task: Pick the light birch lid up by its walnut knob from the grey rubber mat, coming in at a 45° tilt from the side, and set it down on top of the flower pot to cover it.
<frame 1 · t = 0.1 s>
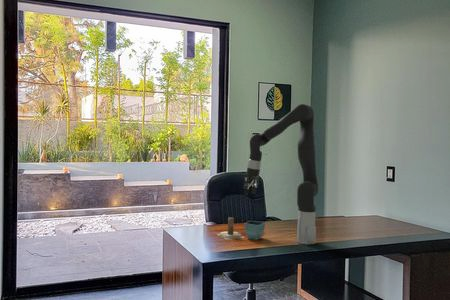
hand: (249, 194, 228), 22 cm above the table, tool pointing down, fingers open, 8 cm apart
flower pot: (254, 239, 212), on the table
lid: (230, 235, 215), resting on mat
mat: (230, 236, 215), on the table
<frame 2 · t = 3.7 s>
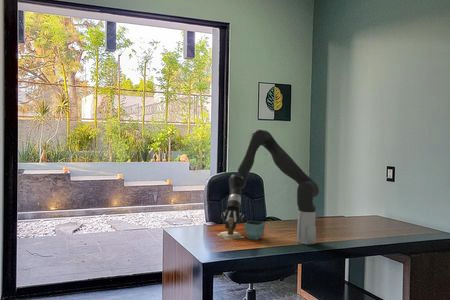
hand: (230, 228, 213), 5 cm above the table, tool tilted 45°, fingers closed on lid, 3 cm apart
lid: (230, 235, 215), resting on mat, touching gripper
everything else where it was.
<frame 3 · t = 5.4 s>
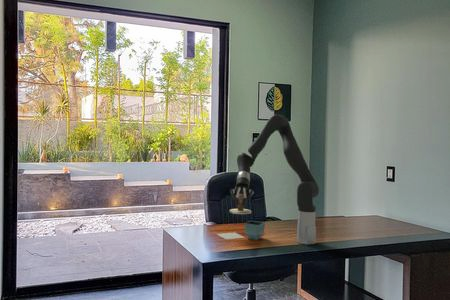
hand: (240, 204, 211), 19 cm above the table, tool tilted 45°, fingers closed on lid, 3 cm apart
lid: (240, 212, 213), point 14 cm above the table, touching gripper
everything else where it was.
when the fingers open (15 cm above the table, at t = 7.5 s): lid drops 2 cm, resting on flower pot.
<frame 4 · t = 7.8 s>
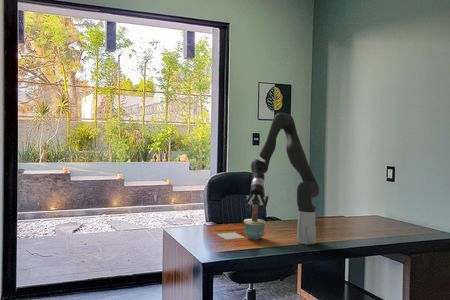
hand: (254, 211, 210), 15 cm above the table, tool tilted 45°, fingers open, 6 cm apart
flower pot: (253, 239, 212), on the table, touching lid
lid: (254, 222, 212), point 9 cm above the table, touching flower pot
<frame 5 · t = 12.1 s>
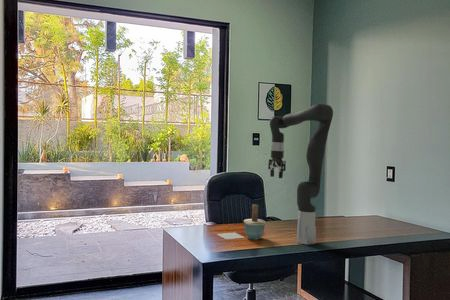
hand: (276, 177, 227), 33 cm above the table, tool pointing down, fingers open, 8 cm apart
nothing on the table moved.
at the end: lid inside the target area on the flower pot (0.1 cm from its centre), point 9.2 cm above the flower pot's base; lid tilted 0°; the gripper is holding nothing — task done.
